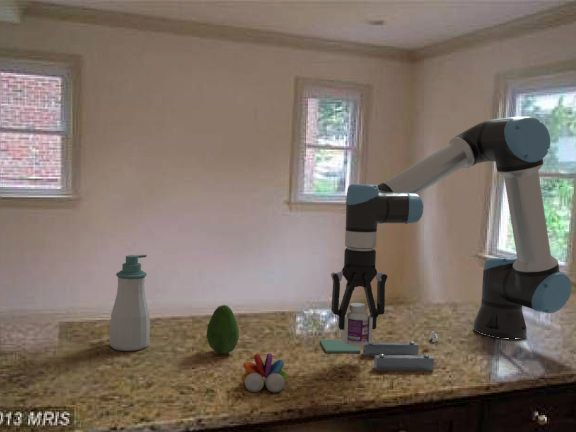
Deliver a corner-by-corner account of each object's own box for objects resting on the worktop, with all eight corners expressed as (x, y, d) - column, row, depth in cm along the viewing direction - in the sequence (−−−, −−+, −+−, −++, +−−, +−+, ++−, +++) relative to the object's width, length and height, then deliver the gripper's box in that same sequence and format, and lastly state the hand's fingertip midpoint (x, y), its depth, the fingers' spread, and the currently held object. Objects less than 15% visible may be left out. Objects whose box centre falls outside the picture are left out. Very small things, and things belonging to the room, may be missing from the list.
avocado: (224, 345, 144) (226, 300, 143) (244, 354, 138) (246, 306, 137) (199, 351, 138) (200, 304, 137) (218, 360, 132) (220, 311, 131)
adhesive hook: (427, 341, 158) (428, 330, 158) (434, 340, 159) (435, 329, 159) (434, 344, 155) (435, 333, 155) (441, 343, 156) (442, 332, 156)
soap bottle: (157, 347, 140) (160, 257, 138) (122, 355, 133) (124, 260, 131) (136, 337, 147) (138, 252, 145) (101, 344, 140) (103, 254, 138)
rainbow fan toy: (241, 379, 122) (242, 346, 121) (285, 380, 123) (287, 347, 122) (240, 394, 114) (242, 359, 113) (288, 395, 114) (289, 361, 114)
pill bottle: (366, 347, 133) (368, 308, 132) (344, 345, 134) (345, 306, 133) (368, 341, 138) (369, 302, 137) (346, 339, 139) (348, 301, 138)
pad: (352, 342, 152) (352, 340, 152) (360, 353, 143) (360, 350, 143) (319, 341, 151) (319, 339, 151) (326, 352, 142) (326, 350, 142)
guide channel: (415, 353, 145) (416, 340, 144) (433, 370, 133) (434, 356, 132) (362, 353, 143) (363, 340, 142) (376, 370, 131) (377, 356, 131)
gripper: (392, 246, 139) (388, 337, 141) (319, 245, 137) (316, 338, 139) (402, 250, 132) (397, 346, 134) (325, 250, 129) (322, 347, 131)
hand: (356, 342), depth 136 cm, fingers closed on pill bottle, 5 cm apart
